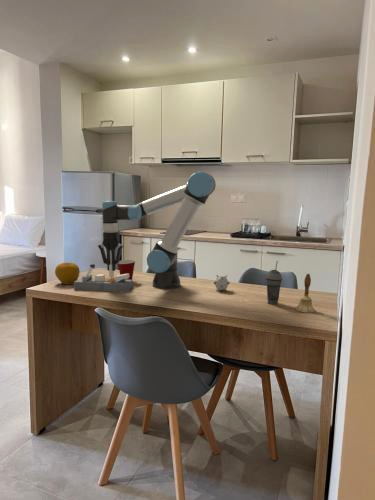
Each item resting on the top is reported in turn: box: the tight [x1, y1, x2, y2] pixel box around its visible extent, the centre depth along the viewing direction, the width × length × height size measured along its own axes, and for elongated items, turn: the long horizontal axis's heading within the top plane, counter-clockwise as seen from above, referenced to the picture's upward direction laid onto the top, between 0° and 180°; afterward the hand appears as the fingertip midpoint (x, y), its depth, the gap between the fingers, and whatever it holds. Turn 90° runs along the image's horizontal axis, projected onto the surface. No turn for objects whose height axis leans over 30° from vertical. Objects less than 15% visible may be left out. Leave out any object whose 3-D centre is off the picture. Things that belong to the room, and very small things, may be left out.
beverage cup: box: [265, 260, 283, 306], centre depth 165 cm, size 7×7×20 cm
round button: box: [106, 276, 115, 282], centre depth 188 cm, size 4×4×4 cm
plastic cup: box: [116, 259, 136, 280], centre depth 204 cm, size 11×11×12 cm
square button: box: [94, 273, 106, 282], centre depth 188 cm, size 4×4×4 cm
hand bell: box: [295, 273, 316, 314], centre depth 156 cm, size 8×8×16 cm
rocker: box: [114, 273, 130, 281], centre depth 187 cm, size 6×4×2 cm, turn 83°
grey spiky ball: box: [213, 274, 231, 292], centre depth 187 cm, size 9×8×10 cm
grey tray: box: [73, 273, 133, 293], centre depth 188 cm, size 28×10×6 cm, turn 83°
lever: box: [85, 263, 96, 280], centre depth 189 cm, size 3×5×9 cm, turn 173°
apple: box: [54, 262, 80, 285], centre depth 198 cm, size 13×13×11 cm
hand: (111, 276), depth 187 cm, fingers closed
